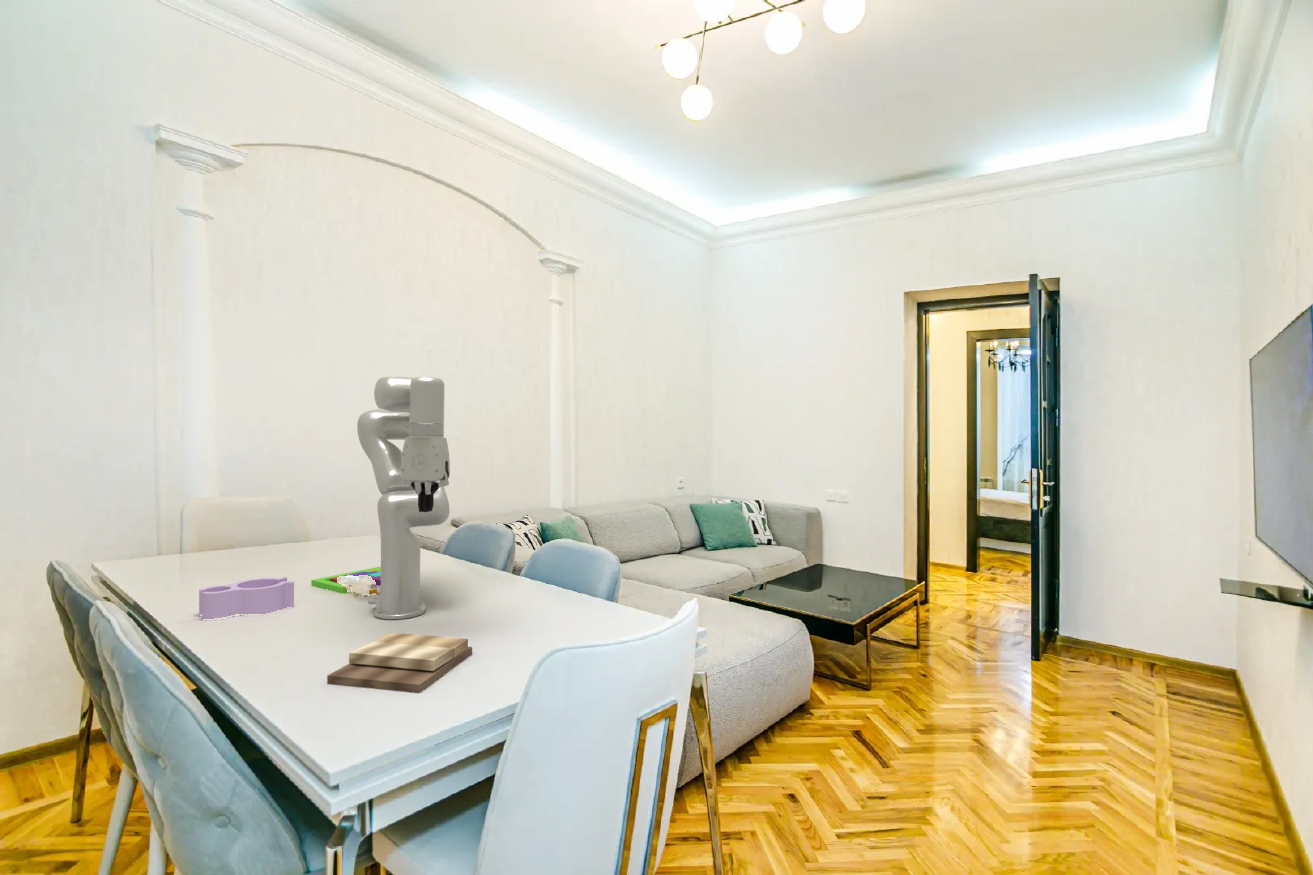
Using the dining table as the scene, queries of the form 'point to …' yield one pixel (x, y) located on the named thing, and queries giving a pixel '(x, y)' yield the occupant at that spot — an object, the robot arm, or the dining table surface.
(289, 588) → the lilac rounded hollowed piece
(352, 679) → the floor board
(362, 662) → the hinged plank
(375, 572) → the toy blocks
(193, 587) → the dining table surface
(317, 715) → the dining table surface
